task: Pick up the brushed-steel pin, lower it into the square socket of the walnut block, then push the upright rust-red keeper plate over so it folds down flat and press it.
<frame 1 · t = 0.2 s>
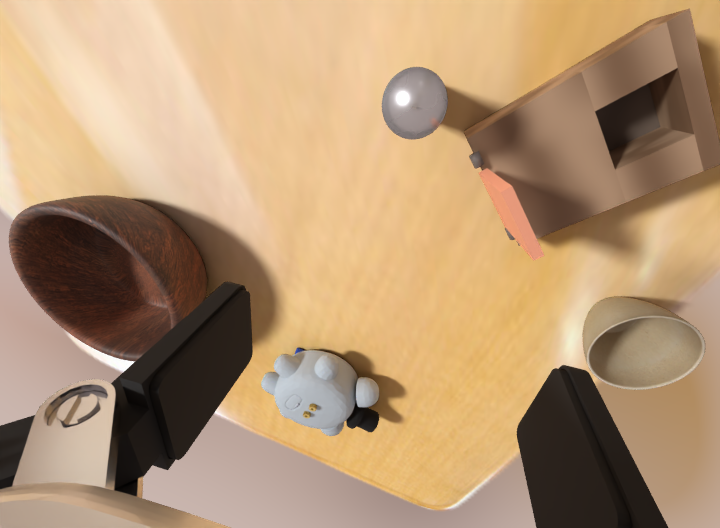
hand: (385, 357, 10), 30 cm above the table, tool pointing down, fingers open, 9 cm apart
wooden bowl: (152, 258, 52), on the table
block: (568, 140, 32), on the table
pin: (422, 97, 33), on the table
keeper: (508, 210, 27), point 10 cm above the table, hinge at 97.0°
beige bowl: (612, 312, 40), on the table
figurine: (331, 377, 57), on the table
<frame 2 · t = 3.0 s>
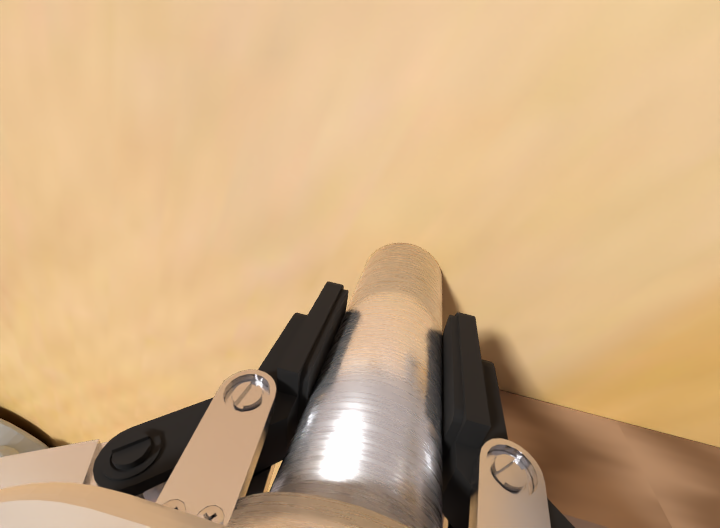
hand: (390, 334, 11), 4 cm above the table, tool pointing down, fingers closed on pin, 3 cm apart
block: (536, 478, 19), on the table
pin: (402, 278, 14), on the table, touching gripper
figurine: (24, 442, 34), on the table
when the fingers open (6 cm above the table, at t = 8.4 s): pin stays where it is, resting on block.
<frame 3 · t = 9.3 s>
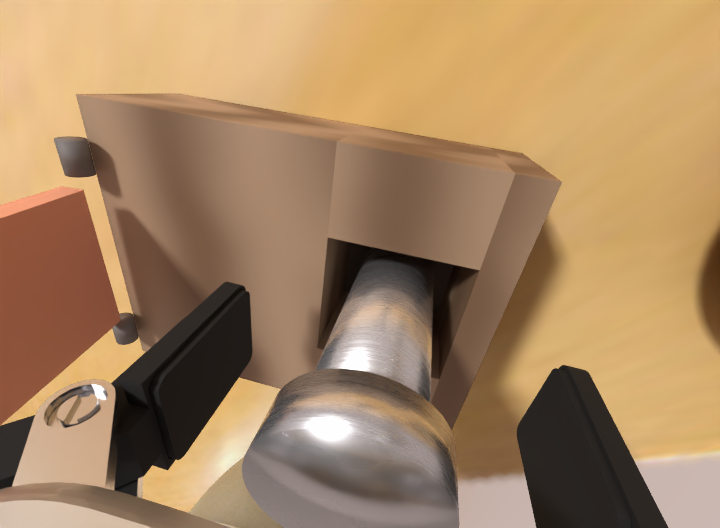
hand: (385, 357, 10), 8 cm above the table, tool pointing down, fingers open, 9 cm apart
block: (327, 241, 17), on the table
pin: (400, 259, 17), resting on block
beige bowl: (284, 459, 29), on the table
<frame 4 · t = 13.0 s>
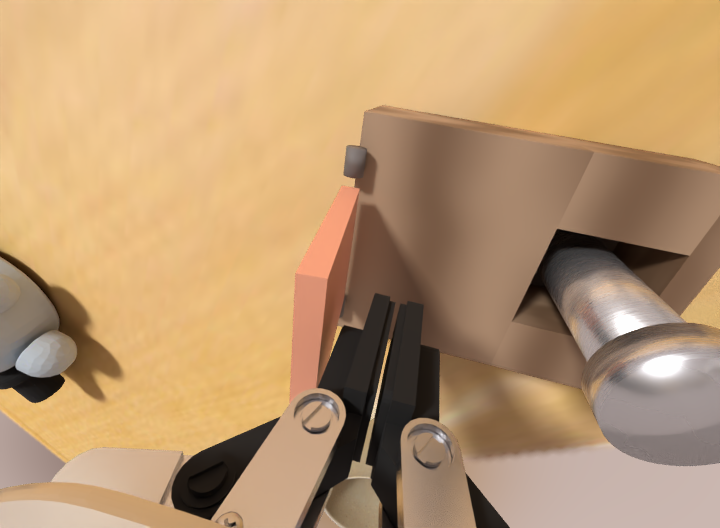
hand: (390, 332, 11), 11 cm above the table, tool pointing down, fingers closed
block: (491, 233, 20), on the table
pin: (560, 249, 19), resting on block
keeper: (329, 289, 13), point 10 cm above the table, hinge at 96.5°, touching gripper
beige bowl: (393, 430, 32), on the table
figurine: (20, 301, 35), on the table
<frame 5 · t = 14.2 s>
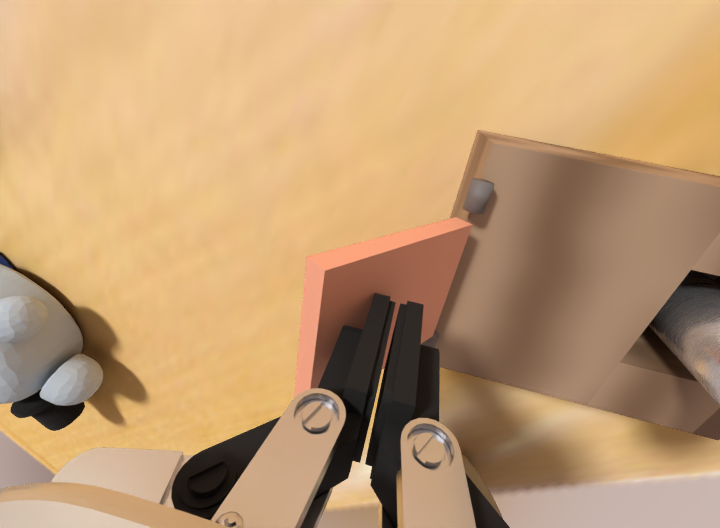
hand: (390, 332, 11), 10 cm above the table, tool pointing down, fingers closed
block: (579, 263, 19), on the table
pin: (654, 281, 19), resting on block
keeper: (388, 308, 12), point 9 cm above the table, hinge at 54.1°, touching gripper
beige bowl: (441, 459, 30), on the table
figurine: (40, 322, 33), on the table
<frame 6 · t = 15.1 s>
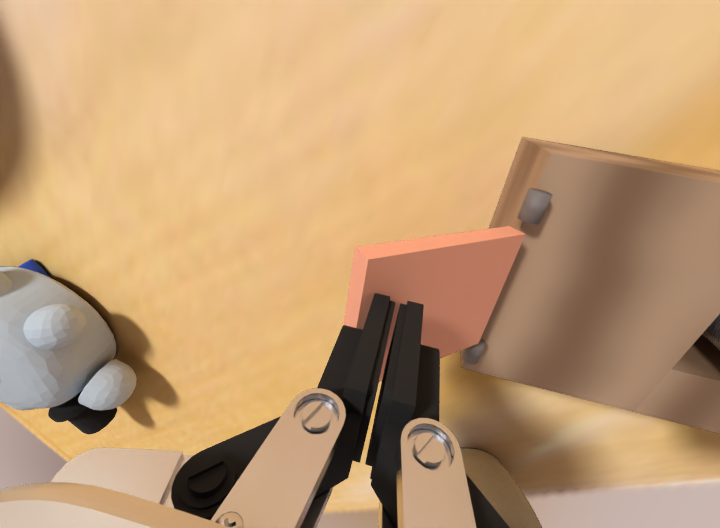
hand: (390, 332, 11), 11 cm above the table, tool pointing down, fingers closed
block: (622, 268, 19), on the table
pin: (701, 286, 18), resting on block
keeper: (431, 306, 13), point 8 cm above the table, hinge at 41.6°, touching gripper
beige bowl: (472, 462, 30), on the table
figurine: (74, 328, 34), on the table
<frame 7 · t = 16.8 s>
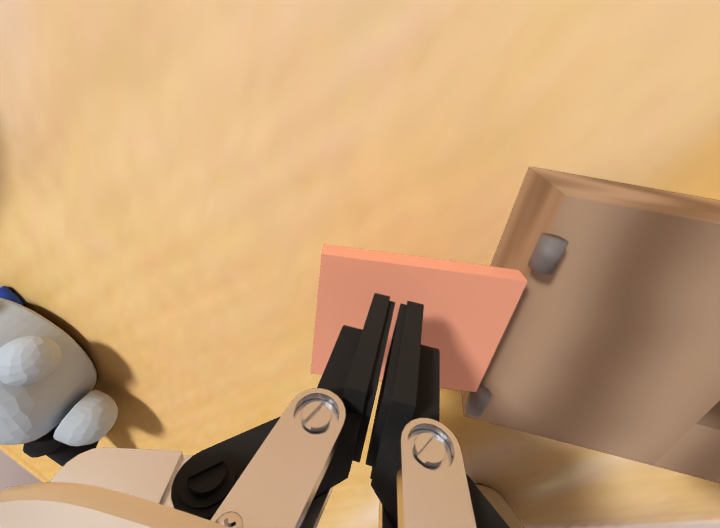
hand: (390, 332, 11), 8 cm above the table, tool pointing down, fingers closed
block: (637, 305, 18), on the table
keeper: (407, 325, 13), point 6 cm above the table, hinge at 10.3°
beige bowl: (474, 497, 29), on the table
figurine: (52, 355, 32), on the table
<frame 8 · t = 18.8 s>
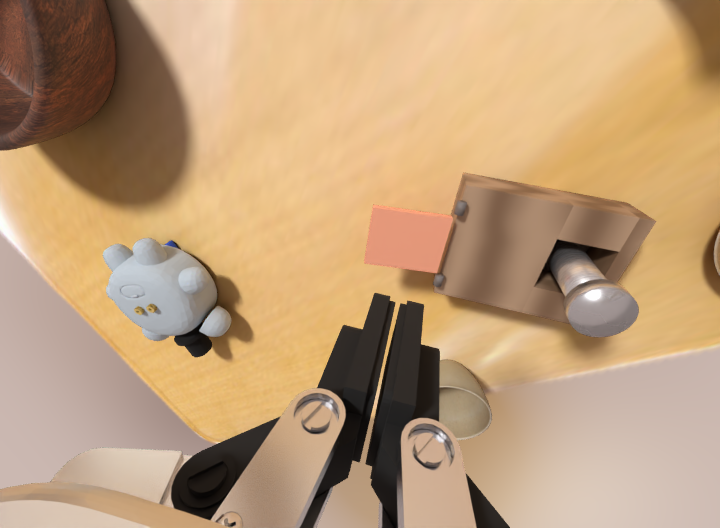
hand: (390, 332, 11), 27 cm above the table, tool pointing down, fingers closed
wooden bowl: (40, 17, 36), on the table
block: (520, 240, 36), on the table
pin: (559, 248, 35), resting on block
keeper: (406, 240, 32), point 6 cm above the table, hinge at 10.1°
beige bowl: (448, 371, 47), on the table
figurine: (187, 287, 51), on the table
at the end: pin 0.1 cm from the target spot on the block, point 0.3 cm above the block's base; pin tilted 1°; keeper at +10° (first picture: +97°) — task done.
